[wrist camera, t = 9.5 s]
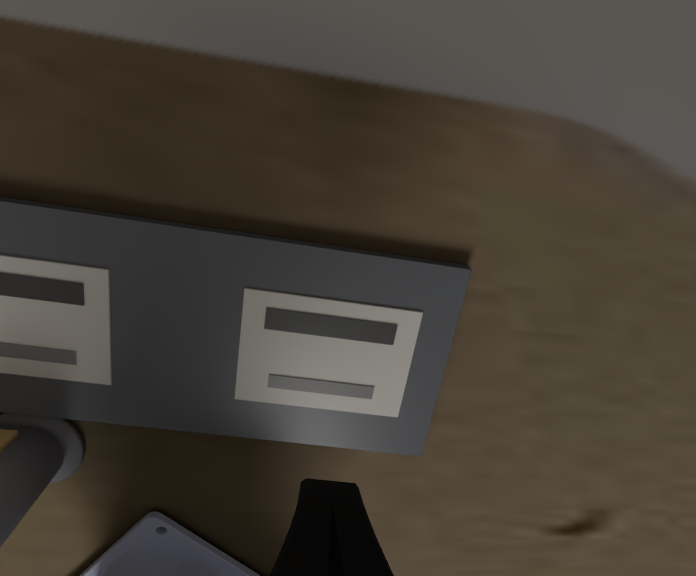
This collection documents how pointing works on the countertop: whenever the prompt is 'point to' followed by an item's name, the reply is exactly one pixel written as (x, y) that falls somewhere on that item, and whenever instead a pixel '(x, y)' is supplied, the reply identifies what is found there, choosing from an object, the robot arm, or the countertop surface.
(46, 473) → the bar
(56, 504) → the countertop surface
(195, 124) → the countertop surface
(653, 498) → the countertop surface
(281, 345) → the label plate
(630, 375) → the countertop surface
